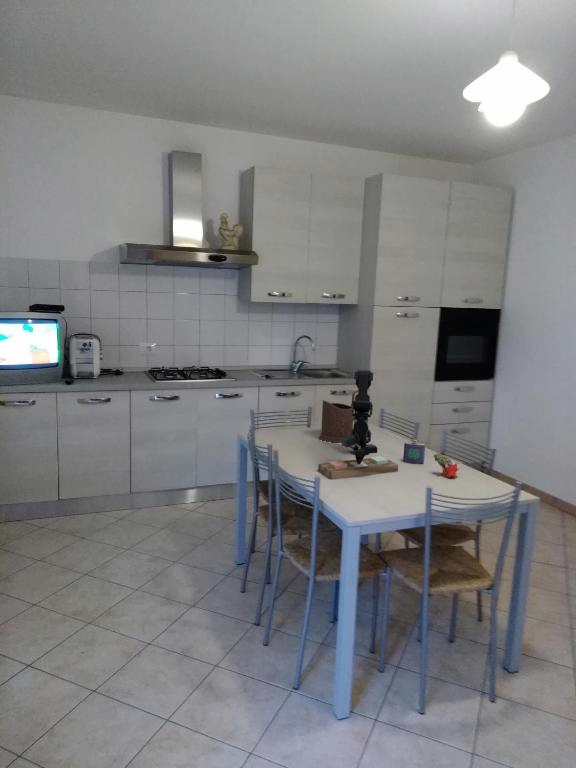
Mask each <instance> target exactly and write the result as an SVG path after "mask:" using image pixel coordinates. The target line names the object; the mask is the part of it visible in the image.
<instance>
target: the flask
mask: <svg viewBox="0 0 576 768" xmlns="http://www.w3.org/2000/svg"><path fill="white" fill-rule="evenodd" d="M425 452H426V444H425V443H418V441H417V439H413V441H406V442H404V446H403V455H402V461H403V463H405V462H406V463H405V464H415V465H424V464H425V457H426V456H425V455H426V453H425Z"/></svg>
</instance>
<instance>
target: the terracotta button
mask: <svg viewBox="0 0 576 768" xmlns="http://www.w3.org/2000/svg"><path fill="white" fill-rule="evenodd" d="M342 461H343V460H335V461H333V460H332V461H328V463H329V466H330V467H331V468H333V469H335V470H337V469H345V468H347V464H346V463H344V462H342Z"/></svg>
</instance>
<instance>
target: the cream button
mask: <svg viewBox="0 0 576 768" xmlns="http://www.w3.org/2000/svg"><path fill="white" fill-rule="evenodd" d="M350 464H351V465H353V466H355V467H362V466H368V465H366V464H365V463H363V462H361V464H357V462H351V463H350Z"/></svg>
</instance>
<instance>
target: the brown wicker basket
mask: <svg viewBox="0 0 576 768" xmlns="http://www.w3.org/2000/svg"><path fill="white" fill-rule="evenodd" d="M357 394H358V389H357V390H355V391H353V393H352V395H351V398H352V399H351V403H350V405H349V404H348V405H347V404H345V403H337V402H329V401H326V400H322V409H321V411H322V412H321V427H320V428H321V429H320V430H321V432H320V435H318V436H319V437H318V440H319V439H320V440H322V441H321V442H323V441H326V442H331V443H341V438H342V437H344V436H346V435H349V434H351V431H352V428H353V426H354V417H355V416H352V410H353V401H355V396H356V395H357ZM320 440H319V441H320ZM326 442H325V443H326ZM331 443H330V444H331Z"/></svg>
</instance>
